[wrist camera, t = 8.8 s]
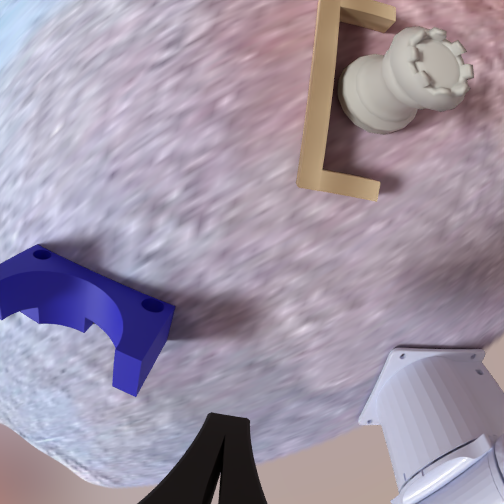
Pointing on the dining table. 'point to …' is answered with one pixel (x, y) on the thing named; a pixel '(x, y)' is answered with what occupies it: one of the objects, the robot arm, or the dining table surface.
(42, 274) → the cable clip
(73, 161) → the dining table surface
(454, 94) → the rook chess piece
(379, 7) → the wooden bracket
